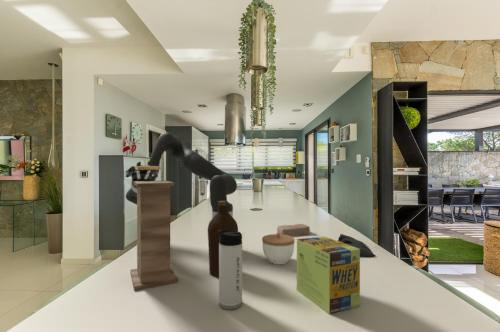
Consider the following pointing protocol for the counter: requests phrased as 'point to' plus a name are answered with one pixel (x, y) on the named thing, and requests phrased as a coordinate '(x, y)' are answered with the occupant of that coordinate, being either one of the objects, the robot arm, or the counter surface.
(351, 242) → the dark slate chunk
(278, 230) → the brick
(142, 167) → the paddle
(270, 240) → the lidded bowl
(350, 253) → the protein box
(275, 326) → the counter surface
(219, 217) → the olive oil
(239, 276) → the travel mug
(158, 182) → the stand
